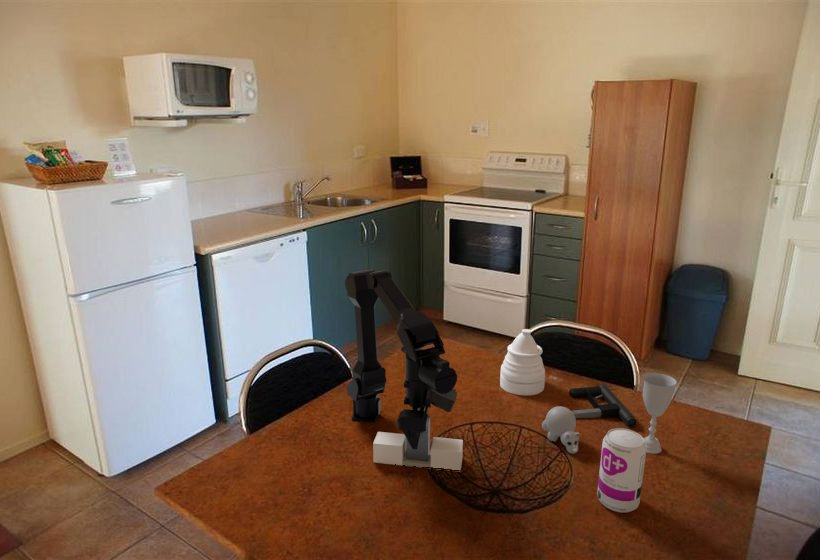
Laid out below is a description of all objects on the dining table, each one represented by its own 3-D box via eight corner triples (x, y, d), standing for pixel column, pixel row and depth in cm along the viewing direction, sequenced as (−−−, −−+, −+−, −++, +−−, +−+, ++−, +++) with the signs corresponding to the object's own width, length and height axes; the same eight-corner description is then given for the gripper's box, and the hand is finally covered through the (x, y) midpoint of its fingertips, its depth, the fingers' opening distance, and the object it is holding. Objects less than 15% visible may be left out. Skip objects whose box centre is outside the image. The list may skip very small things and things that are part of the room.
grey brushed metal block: (406, 459, 131) (406, 420, 128) (408, 452, 134) (408, 413, 131) (427, 461, 130) (428, 422, 127) (429, 454, 133) (430, 415, 130)
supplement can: (618, 519, 113) (626, 453, 109) (588, 495, 120) (594, 432, 116) (647, 507, 116) (656, 442, 112) (616, 484, 123) (623, 423, 119)
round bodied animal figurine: (556, 465, 135) (565, 443, 130) (536, 424, 144) (544, 402, 139) (584, 460, 136) (593, 438, 131) (563, 420, 145) (571, 398, 140)
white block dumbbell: (373, 462, 131) (373, 443, 130) (378, 450, 136) (378, 431, 135) (460, 471, 128) (460, 452, 127) (462, 458, 133) (462, 439, 131)
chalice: (667, 444, 139) (676, 376, 133) (666, 458, 133) (676, 388, 128) (634, 437, 142) (643, 370, 136) (632, 451, 136) (641, 382, 131)
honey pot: (548, 395, 162) (552, 336, 157) (503, 395, 162) (506, 336, 157) (539, 375, 175) (543, 320, 170) (497, 375, 175) (499, 320, 170)
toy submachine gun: (580, 422, 144) (642, 416, 145) (554, 386, 163) (609, 381, 164) (580, 434, 145) (641, 428, 146) (554, 397, 164) (609, 392, 165)
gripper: (450, 398, 116) (448, 465, 120) (458, 360, 133) (457, 420, 138) (396, 394, 118) (396, 459, 122) (411, 357, 135) (411, 415, 140)
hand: (418, 437), depth 130 cm, fingers open, 9 cm apart
